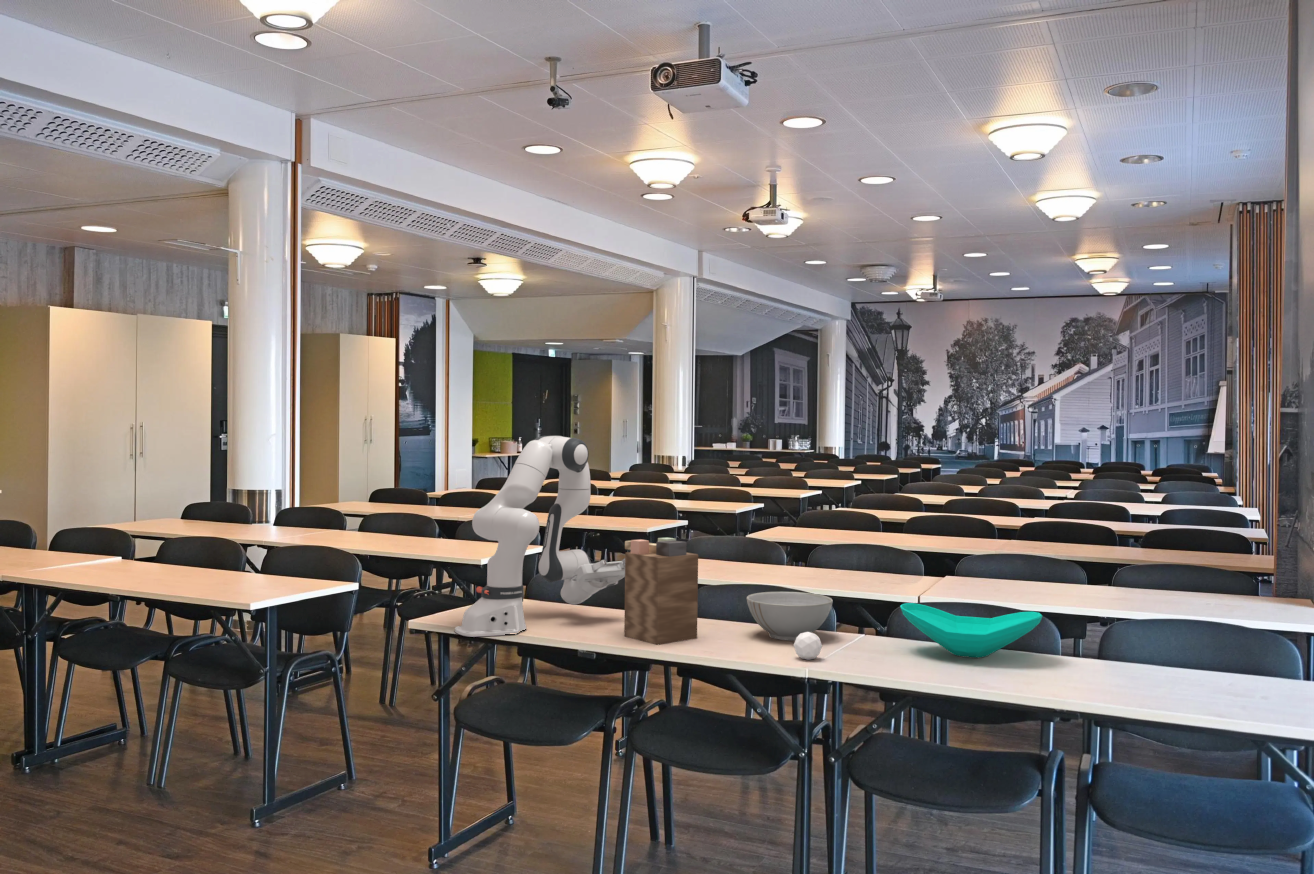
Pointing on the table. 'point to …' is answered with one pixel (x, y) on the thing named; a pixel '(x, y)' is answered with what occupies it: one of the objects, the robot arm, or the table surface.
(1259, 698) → the table surface
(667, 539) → the sage block
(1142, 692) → the table surface
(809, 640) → the geometric ball
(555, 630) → the table surface
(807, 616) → the decorative bowl
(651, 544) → the mallet
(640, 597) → the pedestal
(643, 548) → the terracotta block
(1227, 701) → the table surface
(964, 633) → the table top decor
